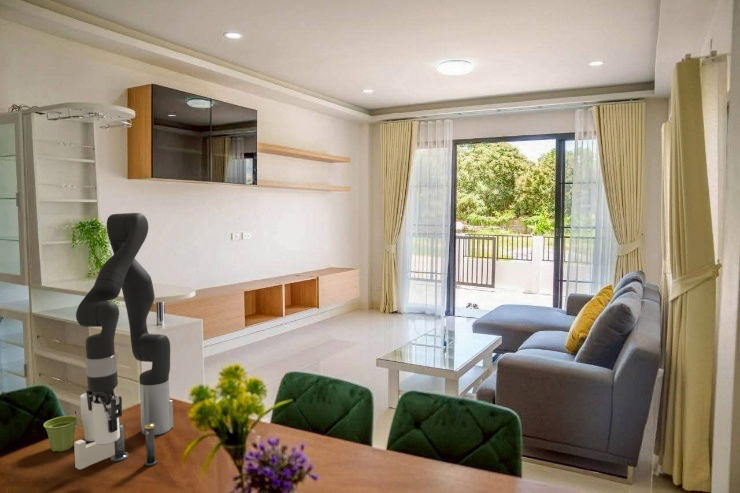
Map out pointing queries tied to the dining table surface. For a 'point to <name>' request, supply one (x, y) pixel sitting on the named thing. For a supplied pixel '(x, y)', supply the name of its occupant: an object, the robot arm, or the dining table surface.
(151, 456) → the post
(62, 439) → the plant pot
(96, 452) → the gate
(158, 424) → the robot arm
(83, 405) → the white tapered cup
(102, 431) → the can
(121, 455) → the hinge post
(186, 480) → the dining table surface
